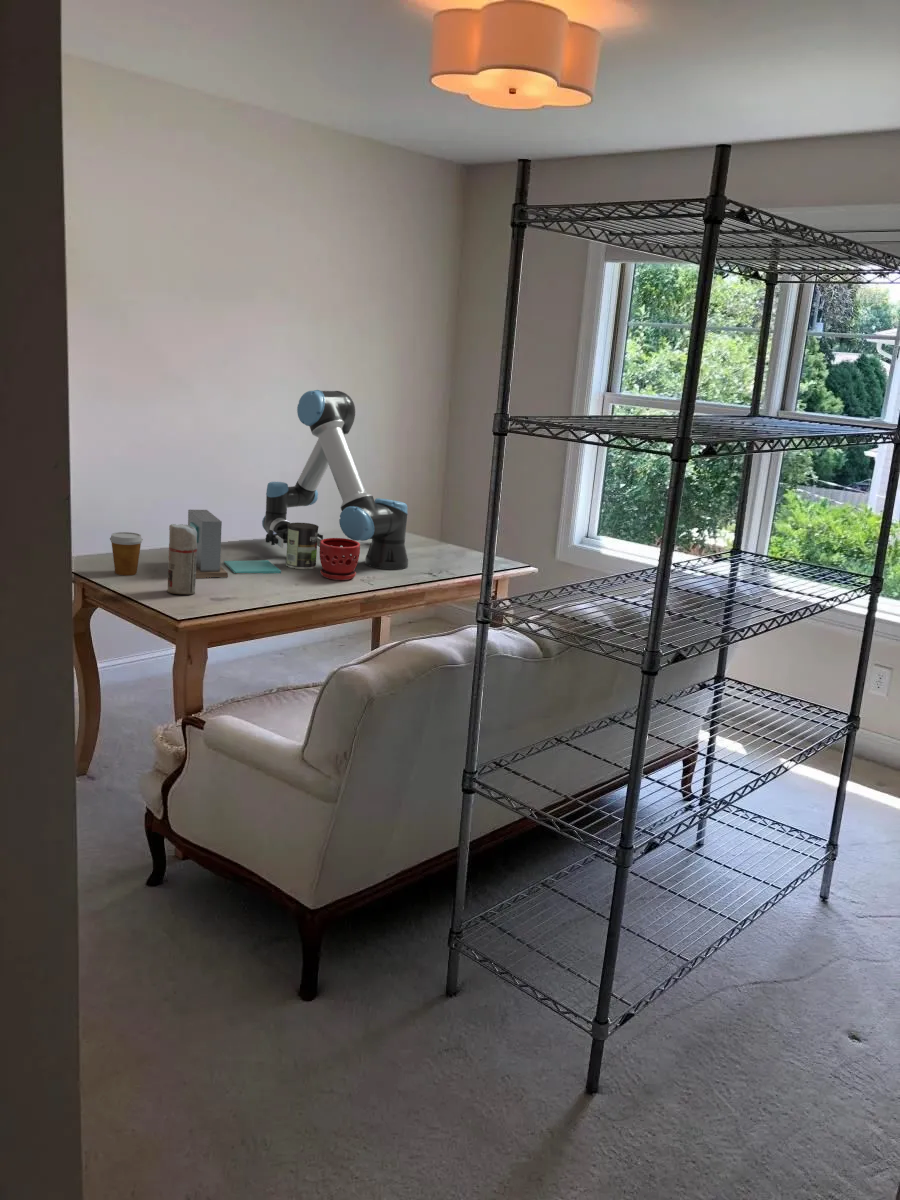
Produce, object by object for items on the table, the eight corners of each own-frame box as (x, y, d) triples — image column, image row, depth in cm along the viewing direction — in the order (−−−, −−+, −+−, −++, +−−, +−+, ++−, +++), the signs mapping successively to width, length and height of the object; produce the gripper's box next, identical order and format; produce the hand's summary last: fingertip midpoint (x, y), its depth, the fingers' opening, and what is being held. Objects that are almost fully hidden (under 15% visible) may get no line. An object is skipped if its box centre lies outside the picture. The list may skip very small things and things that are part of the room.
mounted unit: (227, 577, 309) (229, 522, 305) (195, 578, 305) (197, 522, 300) (209, 560, 330) (211, 508, 325) (179, 560, 325) (180, 508, 321)
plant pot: (310, 574, 324) (312, 538, 321) (344, 571, 332) (347, 536, 329) (330, 583, 314) (333, 546, 311) (365, 580, 322) (368, 544, 319)
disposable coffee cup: (148, 572, 306) (149, 534, 303) (129, 578, 297) (129, 539, 294) (122, 568, 309) (123, 530, 306) (102, 573, 300) (103, 534, 297)
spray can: (169, 587, 291) (171, 521, 286) (197, 589, 292) (199, 523, 287) (163, 595, 283) (165, 526, 278) (193, 597, 284) (195, 528, 279)
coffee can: (320, 565, 338) (322, 524, 335) (310, 571, 328) (312, 529, 325) (291, 561, 340) (294, 521, 336) (280, 567, 330) (283, 525, 327)
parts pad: (280, 573, 321) (281, 570, 321) (235, 574, 315) (235, 571, 315) (267, 562, 334) (268, 560, 334) (223, 563, 328) (223, 560, 327)
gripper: (316, 541, 356) (336, 554, 338) (248, 541, 345) (265, 554, 327) (317, 520, 354) (337, 532, 336) (249, 520, 343) (266, 532, 325)
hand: (301, 543), depth 331 cm, fingers open, 13 cm apart
